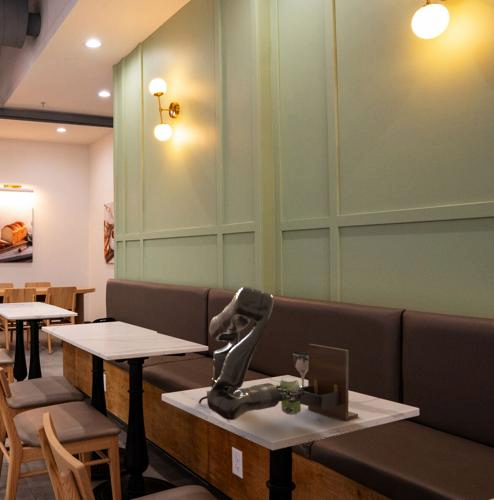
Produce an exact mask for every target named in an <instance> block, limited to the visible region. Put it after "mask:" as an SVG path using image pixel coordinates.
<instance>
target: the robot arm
mask: <svg viewBox="0 0 494 500" xmlns="http://www.w3.org/2000/svg"><path fill="white" fill-rule="evenodd" d="M274 302H275V299H274V295H273V294H272V293H270V292H267V291H264V290H261V289H257V288H254V287H250V286H242V287H239V289H238V290H236V293H235V294H234V296H233V298H232V299H231V301H230V302H229V304H227V305H226V306H225V307H224V309H223V310H222V311H221V312H220V313H219V314H218V315H215V316H213V317H212V319H211V320H210V322H209V325H208V332H209V335H210V338H211V339H212V340H213V341H215V342H228V344H227V345H225V346H223V347H221V348H219V349H216V350H214V351H213V354H212V355H213V357H212V358H213V363H212V364H213V372H212V374H213V375H212V378H211V389H210V390H207V391H206V395H205V396H202V397H201V398H199V400H198V404H201V403H202V401H204V400H205V399H206V401H207V406H208V408H209V409H210V410H211V411H213V412H214V413H215V414H217V415H218V416H220V417H221V418H222V419H224V420H227V421H235V420H237V419H239V418H240V417H242V416H243V415H245V414H246V413H247V412H253V411H261V410H265V409H271V408H274V407H276V406H278V404H279V403H280V402H281V401H284V400H290V403H294V402H297V401H300V400H301V397H302V396H304V395H305V391H304V389H299V390H290V389H282V388H280V384H273V383H270V382H266V383H261V384H255V385H251V386H248V387H243V384H244V381H245V379H246V376H247V372H248V369H249V366H250V363H251V360H252V357H253V355H254V354H255V351H256V349H257V347H258V344H259V343H260V340H261V338H262V335H263V333H264V331H265V329H266V326H267V324H268V322H269V320H270V317H271V314H272V312H273V309H274V304H275V303H274ZM251 321H254V323H253V325H252V327H251V330H250V331H249V332H248V333H247V334H246V335H245V336H244V337H243V338H242V339H241V340H240V335H241V332H242V331H243V330H245V328H247V327H248V326H249V324H250V323H251ZM242 387H243V388H242ZM286 391H288V396H287V392H286ZM292 393H293V394H292Z"/></svg>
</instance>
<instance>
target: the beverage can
mask: <svg viewBox="0 0 494 500" xmlns="http://www.w3.org/2000/svg"><path fill="white" fill-rule="evenodd" d="M299 383H300V382H299V381H298V380H297V377H294V376H283V377H281V378H280V381H279V386H280V388H282V389H290V390H299V387H300V384H299ZM286 392H287V396H288V391H286ZM292 394H293V393H292ZM280 403H281V411H282V412H283V413H284V414H285V415H289V416H295V415H298V414H299V413H300V412H301V409H302V407H301V404H300V401H297V402H294V403H290V400H284V401H280Z"/></svg>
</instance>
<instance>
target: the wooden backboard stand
mask: <svg viewBox="0 0 494 500" xmlns="http://www.w3.org/2000/svg"><path fill="white" fill-rule="evenodd" d="M307 345H308V350H307V351H308V352H307V353H308V372H307V373H308V375H307V376H308V377H307V385H306V386H305V385H304V386H305V387H300V386H299V387H300V388H299V389H304V391H305V395H304V396H302V397H301V400H300V405H303V406H306V407H307V410H308V411H311V412H315V413H318V414H322V415H323V416H324V415H325V416H328V417H331V418H335V419H338V420H342V421H344V422H346V421H347V422H348V421H350V420H353V419H357V418H359V413H356V412H352V411H350V410H349V377H350V376H349V375H350V374H349V368H350V367H349V363H350V362H349V361H350V360H349V357H350V356H349V353H350V352H349V349H343V348H338V347H332V346H326V345H320V344H315V343H314V344H313V343H308V344H307Z"/></svg>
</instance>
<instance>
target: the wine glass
mask: <svg viewBox="0 0 494 500" xmlns="http://www.w3.org/2000/svg"><path fill="white" fill-rule="evenodd" d="M292 353H293V354H292V359H293V361H292V362H293V365H294V368H295V369H296V370H297V371H298V372H299V374H300V378H301V386H300V385H299V388H300V387H305V377H306V374H307V373H308V352H305V351H294V352H292Z"/></svg>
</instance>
